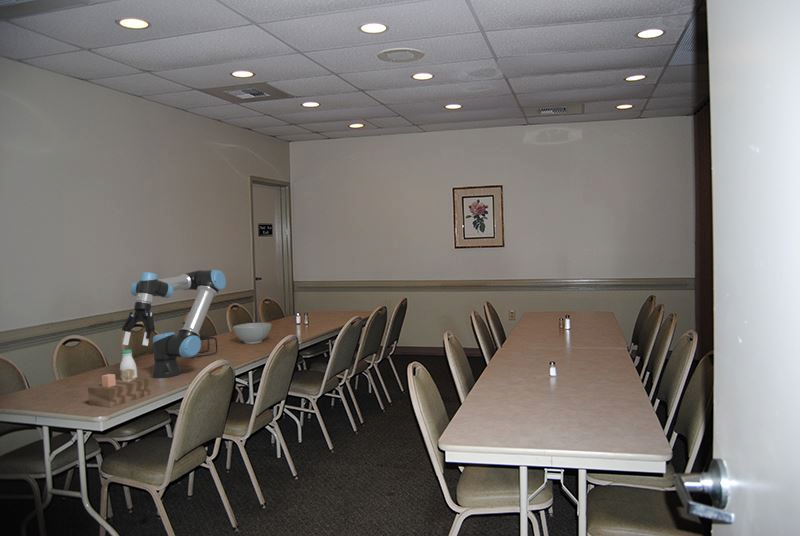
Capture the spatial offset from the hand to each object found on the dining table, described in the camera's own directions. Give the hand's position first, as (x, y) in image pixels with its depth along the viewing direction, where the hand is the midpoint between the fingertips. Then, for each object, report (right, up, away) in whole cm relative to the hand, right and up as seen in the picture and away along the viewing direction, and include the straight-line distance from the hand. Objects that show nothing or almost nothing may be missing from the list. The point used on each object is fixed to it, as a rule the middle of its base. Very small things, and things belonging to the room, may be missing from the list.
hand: (135, 345), depth 291 cm
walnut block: (-1, -24, -12) cm, 27 cm away
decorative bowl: (+25, -15, +133) cm, 136 cm away
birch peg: (+1, -19, -8) cm, 20 cm away
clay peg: (-4, -19, -18) cm, 27 cm away
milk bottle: (-5, -23, +6) cm, 25 cm away
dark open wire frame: (+2, -19, +92) cm, 94 cm away
